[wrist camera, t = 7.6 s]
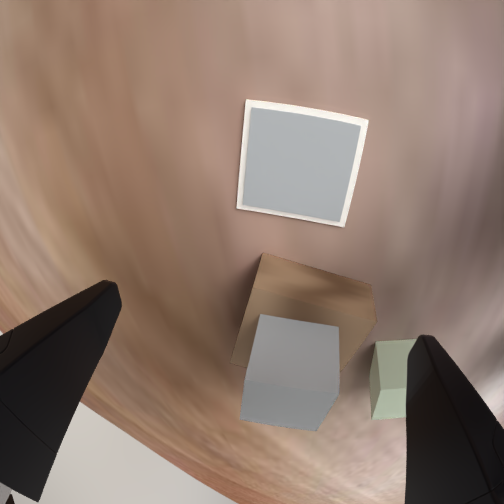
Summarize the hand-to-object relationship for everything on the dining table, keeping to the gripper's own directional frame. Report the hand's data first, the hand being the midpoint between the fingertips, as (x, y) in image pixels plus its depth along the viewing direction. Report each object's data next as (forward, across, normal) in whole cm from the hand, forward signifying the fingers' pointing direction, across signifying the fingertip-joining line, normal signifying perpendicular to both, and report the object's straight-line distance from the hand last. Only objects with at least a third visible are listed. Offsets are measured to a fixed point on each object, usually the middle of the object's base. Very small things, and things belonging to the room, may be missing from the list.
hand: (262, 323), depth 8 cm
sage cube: (+12, -12, +15) cm, 22 cm away
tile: (+12, 0, -1) cm, 12 cm away
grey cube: (+8, -2, +10) cm, 13 cm away
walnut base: (+12, -2, +10) cm, 16 cm away
